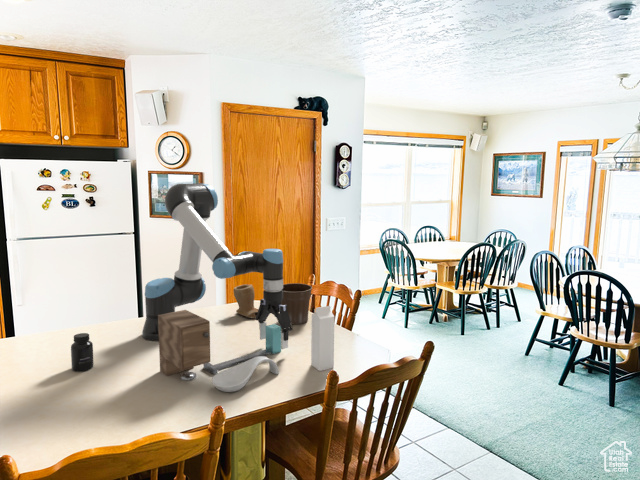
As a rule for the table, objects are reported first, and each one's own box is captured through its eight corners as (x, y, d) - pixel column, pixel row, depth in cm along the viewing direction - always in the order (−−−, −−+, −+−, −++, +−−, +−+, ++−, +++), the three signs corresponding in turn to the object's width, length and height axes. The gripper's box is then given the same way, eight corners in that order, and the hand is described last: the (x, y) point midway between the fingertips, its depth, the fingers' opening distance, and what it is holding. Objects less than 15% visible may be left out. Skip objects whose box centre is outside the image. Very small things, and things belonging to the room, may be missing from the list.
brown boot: (229, 313, 226) (229, 284, 224) (251, 309, 233) (250, 280, 231) (244, 321, 214) (244, 290, 212) (266, 317, 221) (266, 286, 219)
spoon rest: (225, 401, 139) (224, 378, 138) (205, 388, 148) (204, 366, 147) (285, 378, 156) (285, 357, 155) (264, 367, 164) (264, 348, 163)
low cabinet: (160, 371, 159) (157, 315, 156) (186, 363, 166) (185, 309, 163) (185, 389, 146) (183, 328, 143) (213, 380, 152) (212, 322, 150)
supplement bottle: (84, 373, 157) (82, 339, 155) (67, 371, 158) (65, 337, 157) (98, 365, 164) (96, 332, 162) (81, 363, 165) (79, 331, 163)
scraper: (203, 368, 162) (202, 340, 161) (272, 347, 182) (272, 323, 181) (213, 374, 157) (213, 346, 156) (283, 352, 177) (283, 327, 176)
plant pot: (291, 328, 205) (291, 293, 203) (270, 319, 217) (270, 286, 215) (318, 321, 216) (319, 287, 214) (297, 313, 228) (297, 281, 226)
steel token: (178, 378, 155) (178, 374, 155) (191, 373, 158) (191, 370, 158) (185, 383, 151) (184, 379, 151) (198, 378, 154) (198, 375, 154)
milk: (333, 368, 164) (335, 307, 161) (318, 371, 161) (320, 310, 158) (325, 361, 169) (326, 303, 166) (310, 364, 166) (311, 305, 163)
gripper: (246, 285, 182) (247, 337, 184) (285, 297, 163) (286, 355, 166) (262, 282, 187) (262, 333, 190) (302, 294, 169) (302, 349, 171)
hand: (273, 343), depth 178 cm, fingers open, 13 cm apart
